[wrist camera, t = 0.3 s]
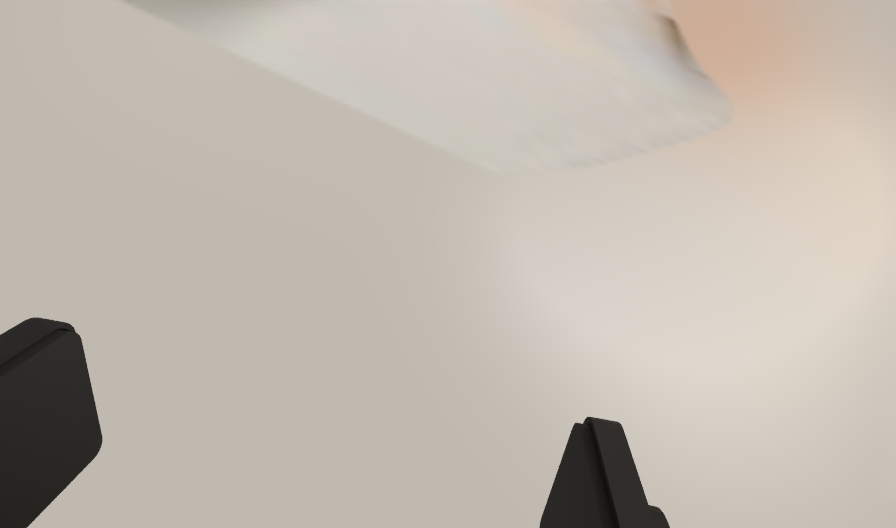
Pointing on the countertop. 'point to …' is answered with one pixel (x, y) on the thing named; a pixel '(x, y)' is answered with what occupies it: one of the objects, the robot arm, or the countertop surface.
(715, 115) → the countertop surface
